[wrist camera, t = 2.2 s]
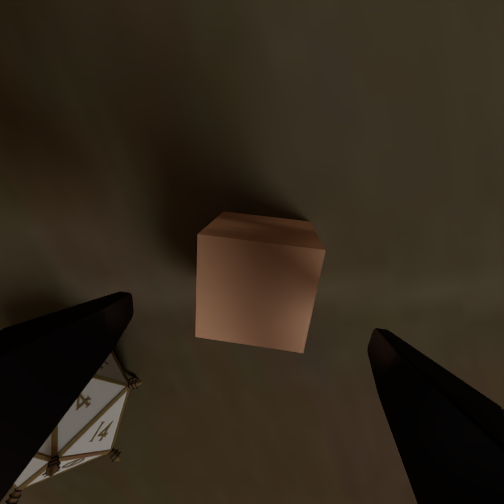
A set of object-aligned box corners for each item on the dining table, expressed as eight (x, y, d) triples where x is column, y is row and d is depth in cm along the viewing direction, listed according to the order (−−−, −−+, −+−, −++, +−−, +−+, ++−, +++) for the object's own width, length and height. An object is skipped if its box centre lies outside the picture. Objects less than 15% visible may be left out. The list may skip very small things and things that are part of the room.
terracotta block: (219, 286, 16) (195, 336, 11) (224, 211, 14) (197, 233, 9) (295, 296, 16) (302, 352, 11) (309, 221, 14) (325, 250, 9)
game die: (148, 315, 22) (173, 382, 13) (123, 405, 22) (131, 531, 13) (17, 303, 17) (-74, 394, 9) (-16, 418, 17) (-140, 623, 9)
